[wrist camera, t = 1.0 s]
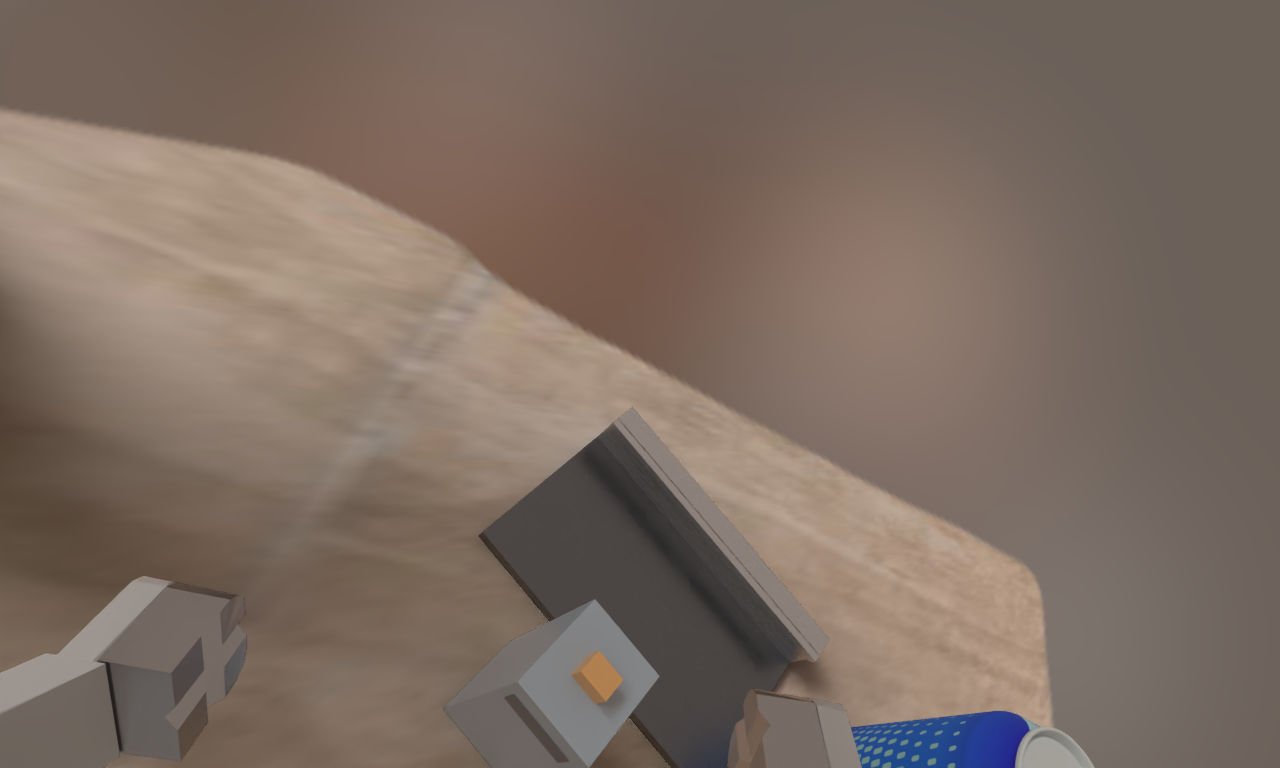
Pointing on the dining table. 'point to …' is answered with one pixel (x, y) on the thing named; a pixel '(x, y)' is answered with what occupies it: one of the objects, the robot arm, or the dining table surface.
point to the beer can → (967, 743)
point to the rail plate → (659, 585)
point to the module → (554, 693)
